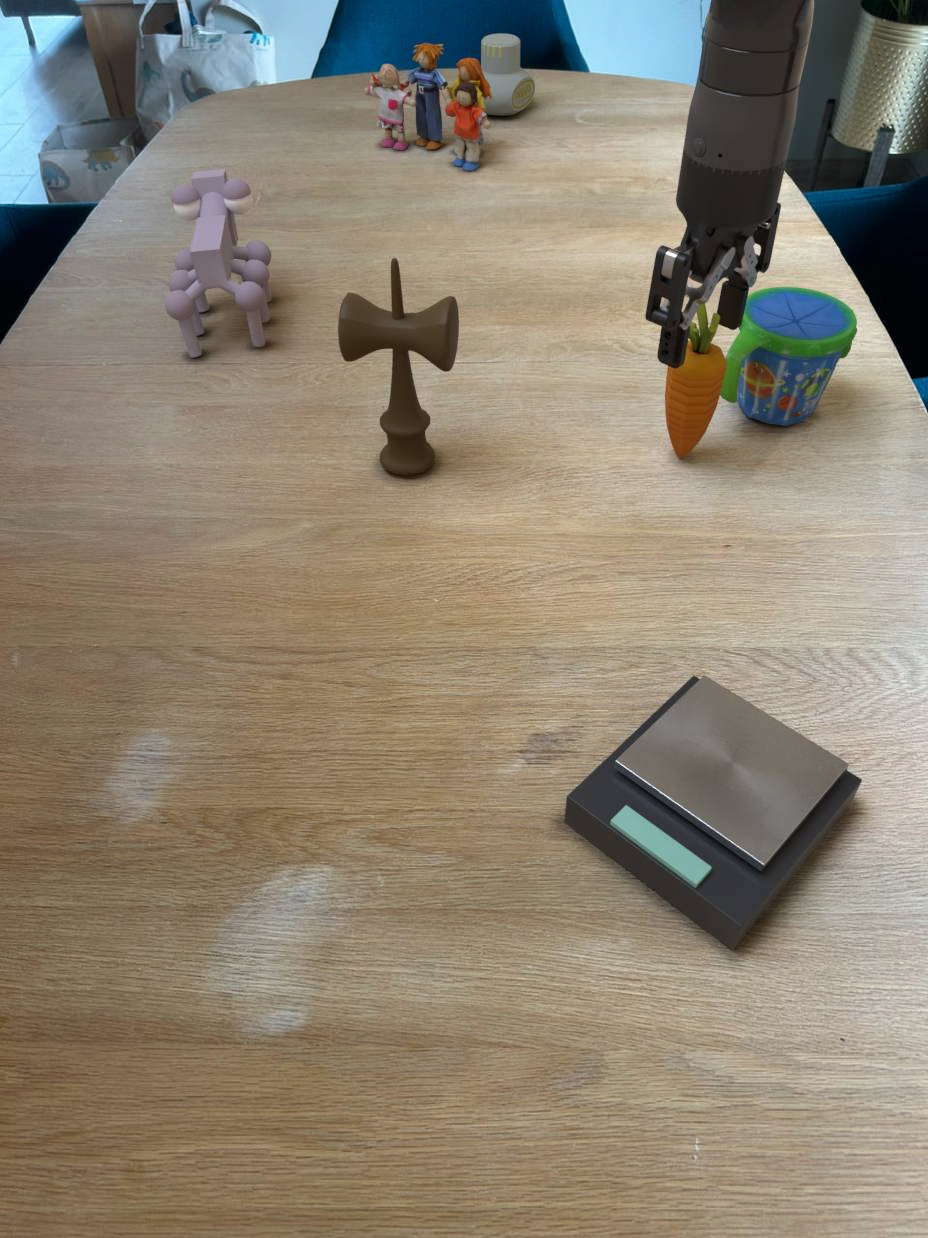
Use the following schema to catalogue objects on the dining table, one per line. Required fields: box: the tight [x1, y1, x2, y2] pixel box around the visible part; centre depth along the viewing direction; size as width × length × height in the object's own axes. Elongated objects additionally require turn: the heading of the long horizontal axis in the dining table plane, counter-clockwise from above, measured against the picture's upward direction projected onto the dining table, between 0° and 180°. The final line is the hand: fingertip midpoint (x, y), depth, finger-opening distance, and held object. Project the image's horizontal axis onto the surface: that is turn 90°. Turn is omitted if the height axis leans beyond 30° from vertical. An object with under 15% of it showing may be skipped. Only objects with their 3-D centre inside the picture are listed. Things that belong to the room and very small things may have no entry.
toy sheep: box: [164, 168, 272, 359], centre depth 108 cm, size 20×11×14 cm, turn 5°
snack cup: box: [719, 286, 858, 427], centre depth 95 cm, size 16×10×10 cm
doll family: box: [363, 42, 493, 172], centre depth 141 cm, size 21×10×13 cm, turn 55°
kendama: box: [337, 257, 460, 476], centre depth 86 cm, size 6×10×20 cm, turn 81°
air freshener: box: [480, 33, 536, 117], centre depth 153 cm, size 11×8×10 cm
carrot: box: [664, 303, 727, 459], centre depth 88 cm, size 5×5×15 cm
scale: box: [563, 675, 863, 951], centre depth 65 cm, size 14×13×4 cm
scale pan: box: [614, 675, 850, 872], centre depth 64 cm, size 10×11×1 cm
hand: (699, 344), depth 85 cm, fingers open, 8 cm apart
